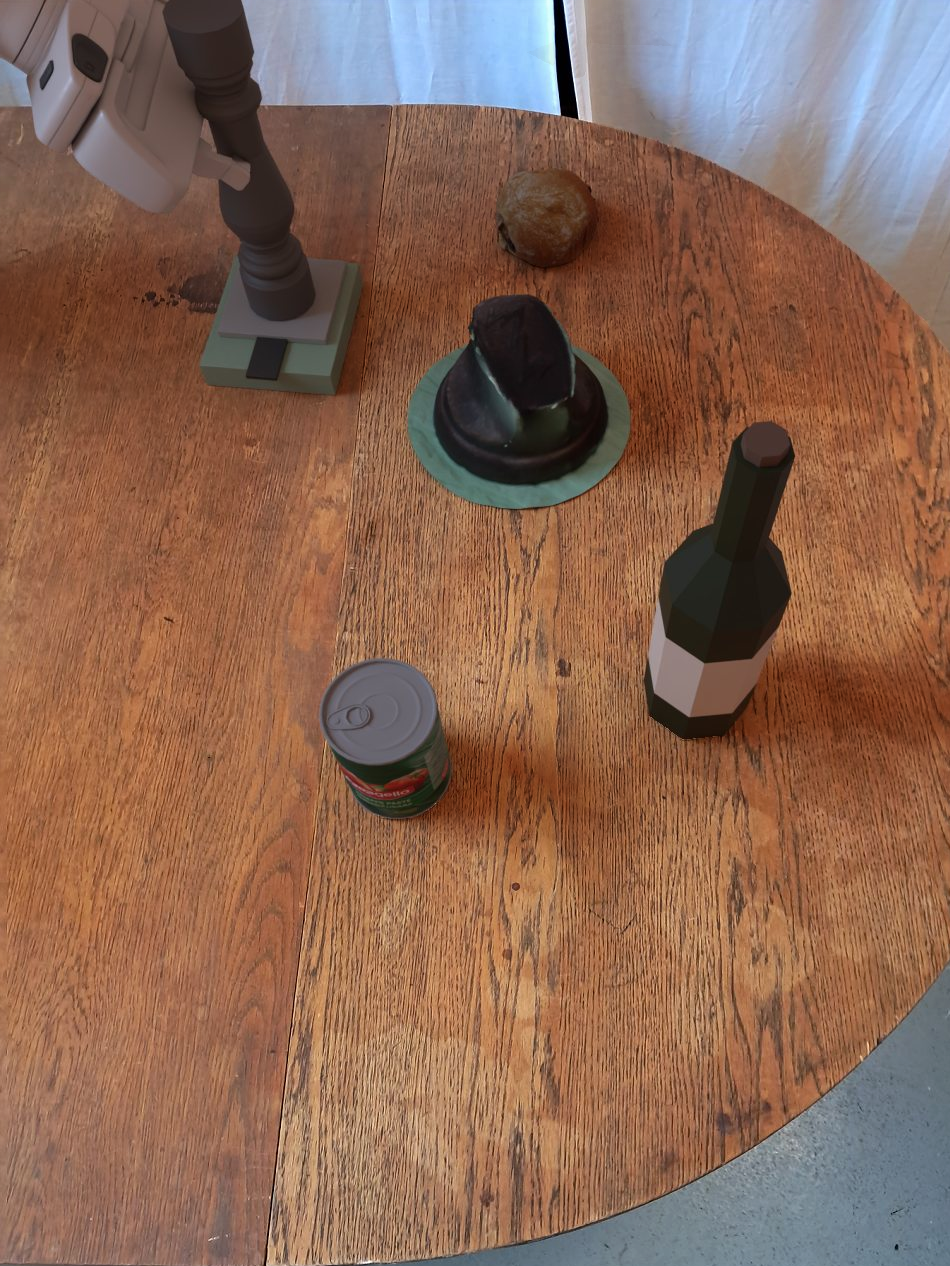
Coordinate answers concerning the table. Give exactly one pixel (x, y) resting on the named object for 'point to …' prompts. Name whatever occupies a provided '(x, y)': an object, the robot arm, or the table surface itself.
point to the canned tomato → (387, 737)
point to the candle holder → (242, 153)
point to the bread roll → (546, 216)
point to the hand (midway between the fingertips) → (251, 157)
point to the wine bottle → (722, 596)
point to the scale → (285, 335)
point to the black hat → (518, 411)
